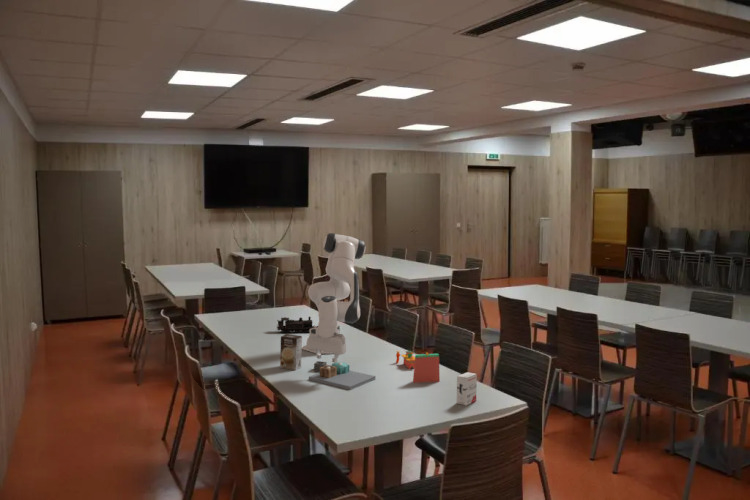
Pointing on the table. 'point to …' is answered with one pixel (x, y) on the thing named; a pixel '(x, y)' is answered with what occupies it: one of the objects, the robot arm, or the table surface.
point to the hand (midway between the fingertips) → (326, 360)
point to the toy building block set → (422, 366)
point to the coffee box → (290, 352)
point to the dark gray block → (319, 365)
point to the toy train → (294, 325)
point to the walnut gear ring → (328, 371)
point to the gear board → (343, 377)
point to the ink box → (466, 388)
